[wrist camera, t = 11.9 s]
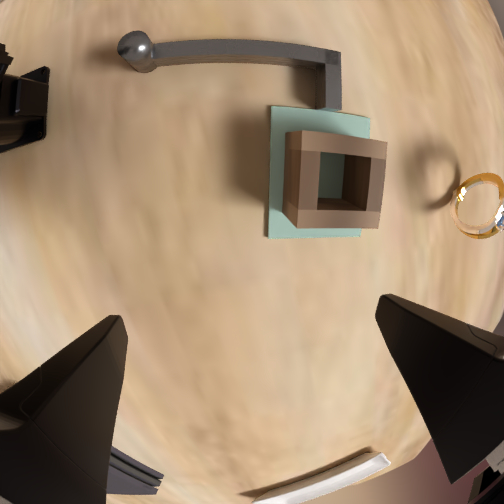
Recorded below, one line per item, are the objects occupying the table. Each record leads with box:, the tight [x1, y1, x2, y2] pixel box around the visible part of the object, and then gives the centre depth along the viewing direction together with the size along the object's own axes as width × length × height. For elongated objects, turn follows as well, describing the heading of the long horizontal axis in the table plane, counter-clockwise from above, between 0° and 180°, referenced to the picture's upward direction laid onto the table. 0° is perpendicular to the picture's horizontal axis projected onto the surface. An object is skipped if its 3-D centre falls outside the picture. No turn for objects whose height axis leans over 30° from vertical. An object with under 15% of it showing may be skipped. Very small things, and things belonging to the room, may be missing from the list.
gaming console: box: [106, 446, 164, 495], centre depth 30 cm, size 30×27×5 cm
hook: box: [117, 31, 342, 112], centre depth 15 cm, size 15×5×4 cm, turn 89°
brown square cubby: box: [282, 130, 387, 229], centre depth 18 cm, size 6×6×4 cm
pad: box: [268, 106, 370, 239], centre depth 20 cm, size 8×10×1 cm
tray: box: [252, 452, 391, 504], centre depth 45 cm, size 17×31×4 cm, turn 122°
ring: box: [450, 173, 504, 239], centre depth 19 cm, size 7×3×8 cm, turn 140°
